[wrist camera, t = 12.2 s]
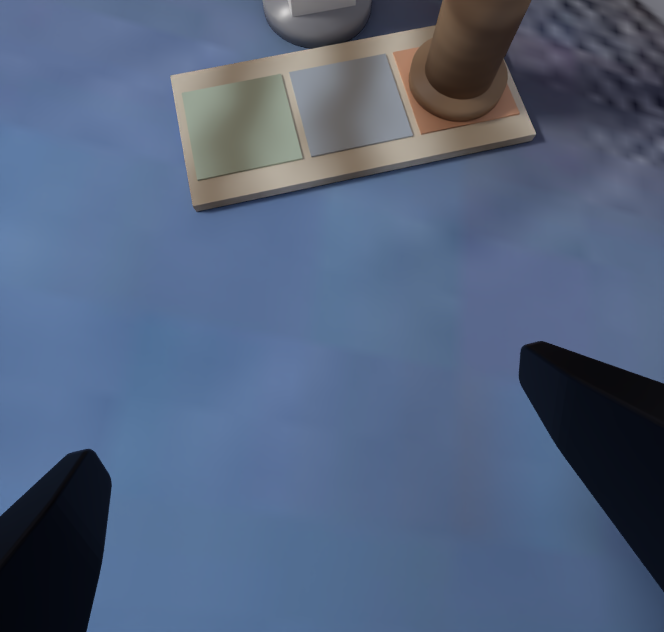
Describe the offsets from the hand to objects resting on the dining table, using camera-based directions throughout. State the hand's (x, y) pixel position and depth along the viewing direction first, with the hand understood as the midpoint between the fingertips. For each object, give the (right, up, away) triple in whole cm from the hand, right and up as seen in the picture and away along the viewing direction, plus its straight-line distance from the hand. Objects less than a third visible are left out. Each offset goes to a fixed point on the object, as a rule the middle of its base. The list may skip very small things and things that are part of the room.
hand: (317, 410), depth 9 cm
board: (+1, +14, +17) cm, 22 cm away
